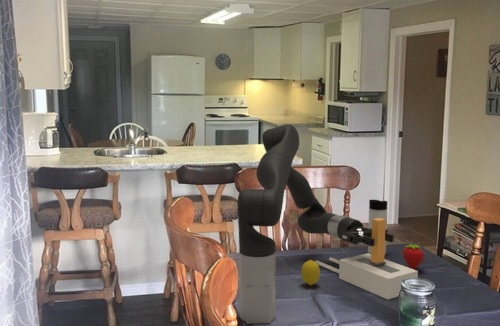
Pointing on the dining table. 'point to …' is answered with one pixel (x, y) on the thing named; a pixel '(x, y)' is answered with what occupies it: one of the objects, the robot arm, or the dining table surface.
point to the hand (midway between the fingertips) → (383, 240)
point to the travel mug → (377, 215)
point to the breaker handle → (378, 242)
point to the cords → (328, 265)
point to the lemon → (310, 272)
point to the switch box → (375, 275)
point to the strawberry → (413, 255)
